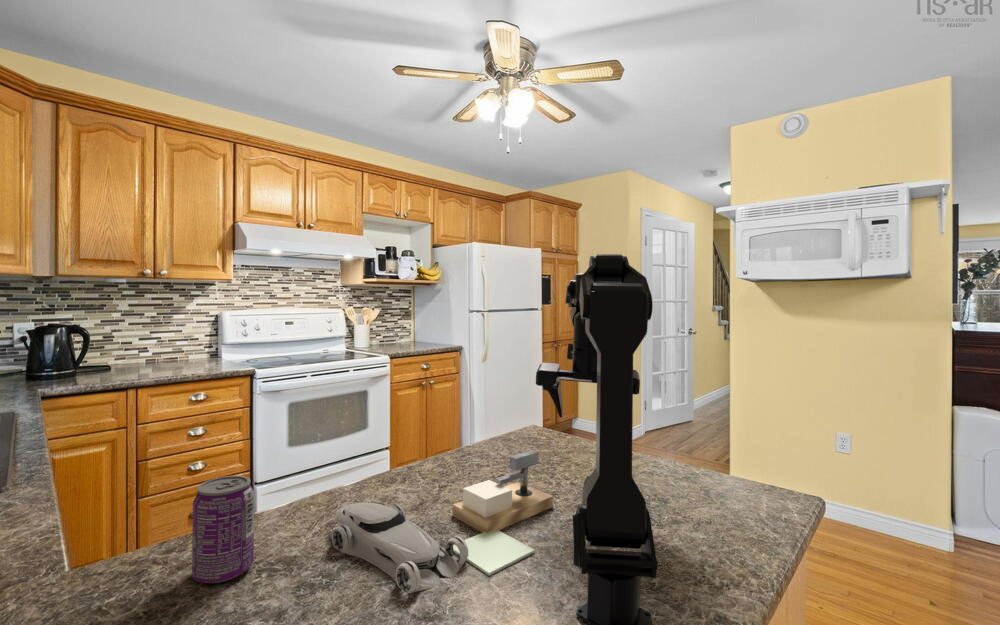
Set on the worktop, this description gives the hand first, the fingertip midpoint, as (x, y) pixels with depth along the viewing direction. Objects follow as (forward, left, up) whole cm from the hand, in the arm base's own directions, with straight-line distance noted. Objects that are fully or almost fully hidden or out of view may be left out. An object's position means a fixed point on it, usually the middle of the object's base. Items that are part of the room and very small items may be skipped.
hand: (585, 419), depth 88 cm
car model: (-37, +8, -16) cm, 41 cm away
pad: (-26, -3, -15) cm, 30 cm away
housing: (-16, +6, -15) cm, 23 cm away
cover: (-20, +6, -13) cm, 24 cm away
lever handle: (-13, +6, -13) cm, 19 cm away
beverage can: (-57, +17, -15) cm, 62 cm away
